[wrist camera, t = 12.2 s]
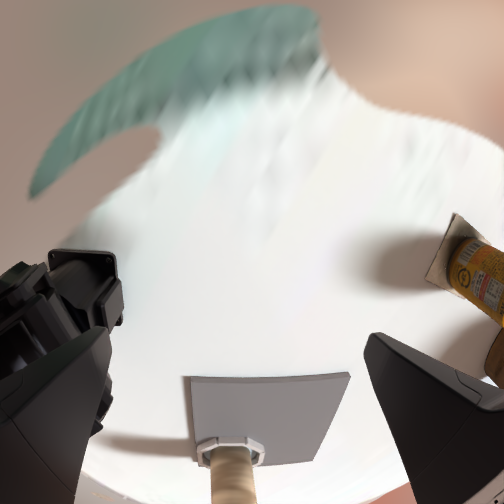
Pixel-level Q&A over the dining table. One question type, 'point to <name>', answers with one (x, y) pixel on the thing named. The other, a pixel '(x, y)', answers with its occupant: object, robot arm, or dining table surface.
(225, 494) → the beige wooden pepper mill
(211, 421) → the baseplate
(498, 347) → the wooden container
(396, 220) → the dining table surface
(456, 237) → the condiment
